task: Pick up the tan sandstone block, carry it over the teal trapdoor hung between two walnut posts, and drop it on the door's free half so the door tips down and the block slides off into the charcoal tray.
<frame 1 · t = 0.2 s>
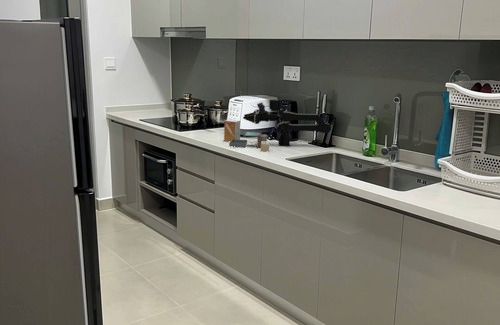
hand: (243, 116, 291), 17 cm above the worktop, tool horizontal, fingers open, 9 cm apart
frame: (259, 146, 288), on the worktop
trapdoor: (256, 136, 287), point 6 cm above the worktop, hinge at 0.0°
small box: (232, 141, 302), on the worktop
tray: (238, 145, 289), on the worktop
stone: (264, 151, 275), on the worktop
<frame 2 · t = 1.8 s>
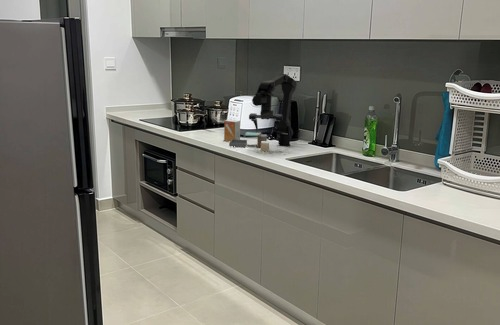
hand: (265, 132, 272), 11 cm above the worktop, tool pointing down, fingers open, 9 cm apart
nothing on the worktop moved.
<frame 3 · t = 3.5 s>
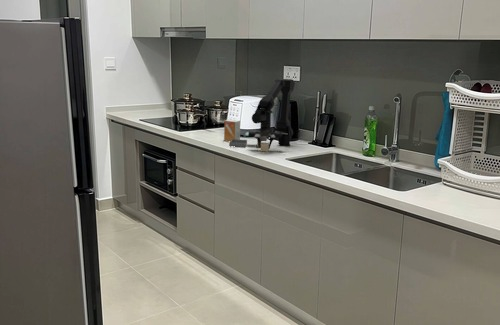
hand: (264, 148, 275), 1 cm above the worktop, tool pointing down, fingers closed on stone, 5 cm apart
stone: (264, 150, 275), on the worktop, touching gripper
everything else where it was.
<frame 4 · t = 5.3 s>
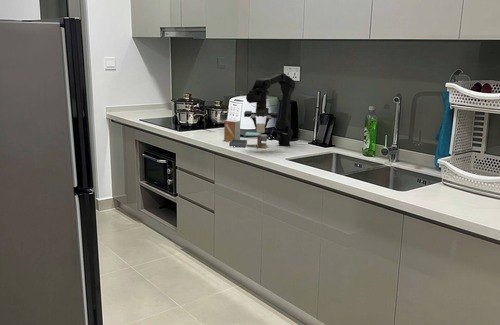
hand: (260, 129, 272), 12 cm above the worktop, tool pointing down, fingers closed on stone, 5 cm apart
stone: (260, 131, 272), point 11 cm above the worktop, touching gripper
everything else where it was.
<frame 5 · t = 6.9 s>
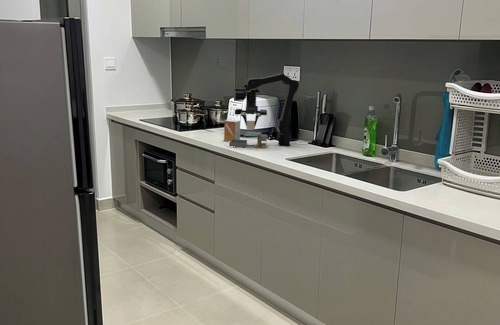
hand: (250, 126, 285), 12 cm above the worktop, tool pointing down, fingers closed on stone, 5 cm apart
stone: (250, 128, 286), point 10 cm above the worktop, touching gripper
everything else where it was.
when the fingers open (11 cm above the worktop, at t = 7.4 s): stone drops 4 cm, resting on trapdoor.
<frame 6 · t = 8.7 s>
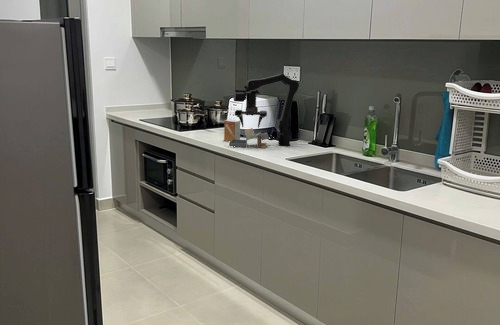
hand: (250, 127, 286), 11 cm above the worktop, tool pointing down, fingers open, 9 cm apart
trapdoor: (257, 137, 287), point 5 cm above the worktop, hinge at -19.6°, touching stone
stone: (250, 136, 287), point 6 cm above the worktop, tilted 20°, touching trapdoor
everything else where it was.
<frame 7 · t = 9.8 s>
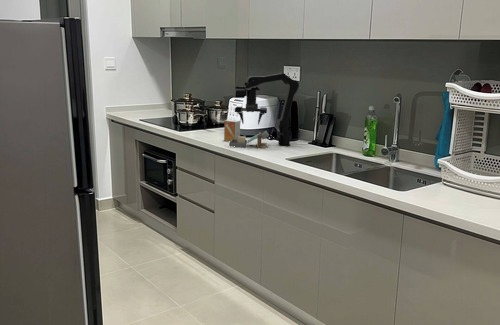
hand: (250, 124, 285), 13 cm above the worktop, tool pointing down, fingers open, 9 cm apart
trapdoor: (257, 138, 287), point 5 cm above the worktop, hinge at -33.3°
stone: (245, 141, 288), point 3 cm above the worktop, tilted 90°, touching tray
everything else where it was.
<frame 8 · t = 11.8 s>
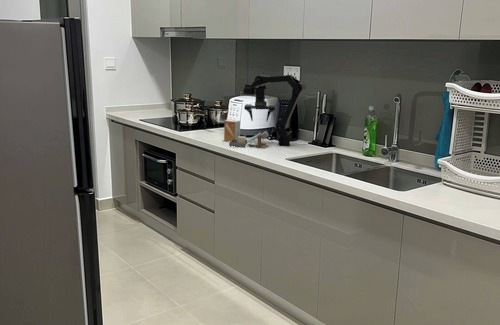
hand: (259, 121, 297), 13 cm above the worktop, tool pointing down, fingers open, 9 cm apart
nothing on the worktop moved.
at the end: stone point 2.8 cm above the worktop; stone inside the target area (3.9 cm from its centre), point 2.8 cm above the worktop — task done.
